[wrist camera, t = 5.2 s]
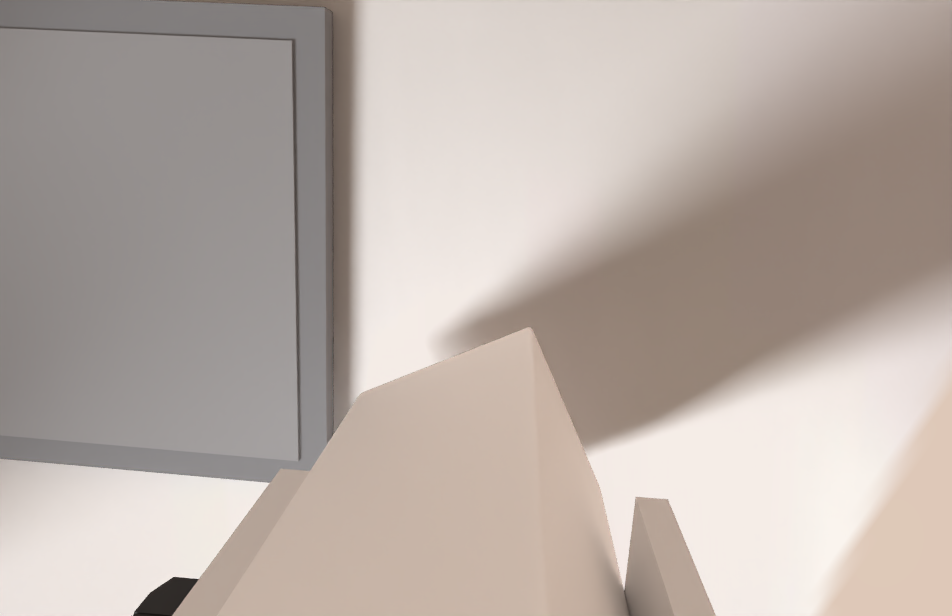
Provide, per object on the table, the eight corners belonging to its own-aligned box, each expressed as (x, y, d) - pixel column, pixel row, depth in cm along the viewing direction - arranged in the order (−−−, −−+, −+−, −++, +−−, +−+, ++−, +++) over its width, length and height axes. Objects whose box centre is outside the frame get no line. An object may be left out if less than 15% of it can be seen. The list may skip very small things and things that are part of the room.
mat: (-72, 441, 26) (-94, 451, 25) (-146, -7, 22) (-174, -14, 21) (333, 476, 25) (325, 489, 24) (332, 12, 21) (323, 6, 20)
